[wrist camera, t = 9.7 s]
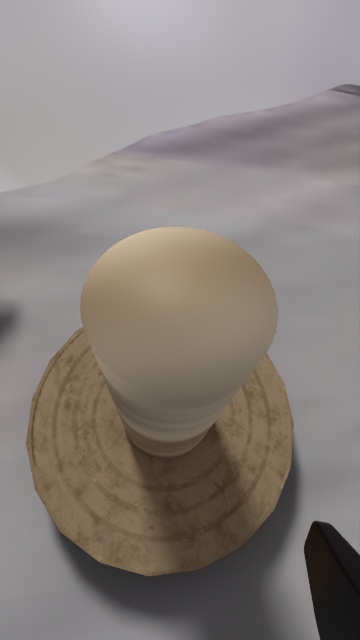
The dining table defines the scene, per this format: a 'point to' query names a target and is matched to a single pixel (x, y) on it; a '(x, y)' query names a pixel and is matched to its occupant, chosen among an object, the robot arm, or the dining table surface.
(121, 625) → the dining table surface
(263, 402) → the ringed beige coaster
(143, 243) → the dome-topped beige peg
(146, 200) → the dining table surface
